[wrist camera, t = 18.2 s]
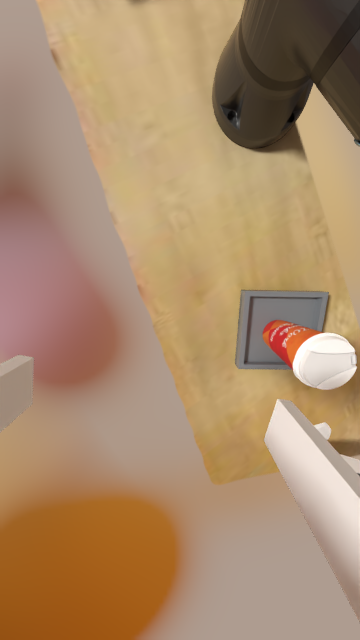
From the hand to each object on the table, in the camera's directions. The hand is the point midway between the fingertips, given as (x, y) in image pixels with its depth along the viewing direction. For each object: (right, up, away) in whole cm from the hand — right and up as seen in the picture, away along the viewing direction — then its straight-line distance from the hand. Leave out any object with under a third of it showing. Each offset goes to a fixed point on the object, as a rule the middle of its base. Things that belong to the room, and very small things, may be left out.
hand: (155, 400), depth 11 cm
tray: (+21, +2, +31) cm, 38 cm away
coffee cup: (+21, +2, +31) cm, 37 cm away
